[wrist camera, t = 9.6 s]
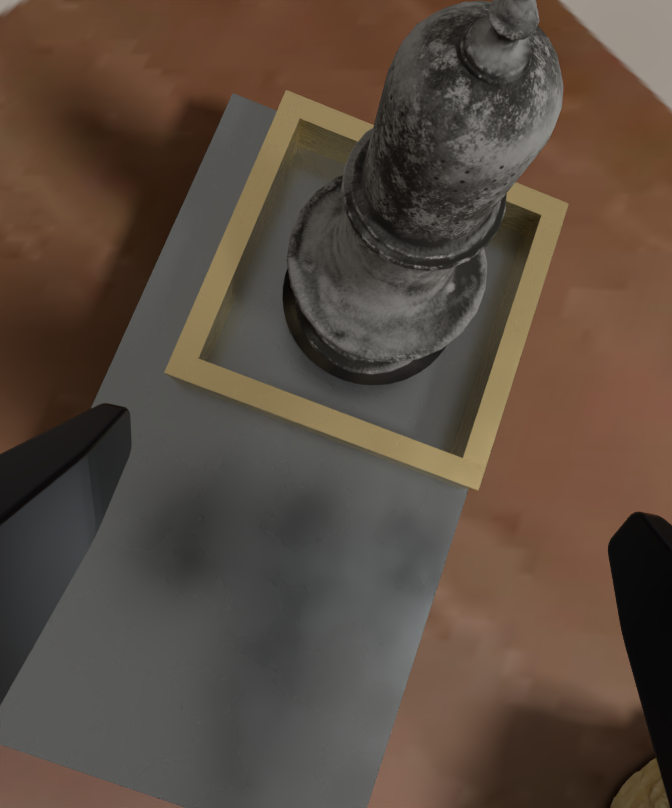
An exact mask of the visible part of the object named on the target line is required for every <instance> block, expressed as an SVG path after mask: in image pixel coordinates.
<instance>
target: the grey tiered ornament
mask: <svg viewBox="0 0 672 808" xmlns="http://www.w3.org/2000/svg"><path fill="white" fill-rule="evenodd" d="M536 5H537V4H536V0H493V1H492V2H487V1H472V2H462V3H459V4H456V5H453V6H450V7H446V8H444V9H442V10H440V11H438V12H436V13H434V14H432V15H431V16H429V17H428V18H426V19H425V20H423V21H421V22H420V23H418V24H417V25H416V26H415V27H414V29H413V30H412V31H411V32H410V33H409V34H408V36H407V37H406V38H405V39H404V40H403V42H402V44H401V46H400V47H399V49H398V51H397V52H396V55H395V57H394V59H393V61H392V64H391V66H390V68H389V70H388V73H387V77H386V81H385V85H384V89H383V92H382V96H381V100H380V104H379V108H378V112H377V115H376V119H375V123H374V127H373V128H371V129H370V130H368V131H367V132H366V133H365V134H364V135H363V136H362V137H361V138H360V140H359V141H358V142H357V143H356V144H355V146H354V147H353V148H352V150H351V153H350V155H349V157H348V159H347V162H346V164H345V166H344V172H343V175H342V176H339V177H336V178H335V179H334V180H332V181H331V182H329V183H328V184H326V185H325V186H323V187H322V188H320V189H319V190H318V191H316V192H315V194H314V195H313V196H312V197H311V198H310V200H309V201H308V202H307V203H306V204H305V206H304V207H303V208H302V209H301V210H300V212H299V215H298V217H297V219H296V222H295V224H294V226H293V228H292V231H291V233H290V239H289V246H288V254H287V266H288V273H289V280H290V287H291V289H292V291H293V294H294V296H295V306H296V313H297V319H298V322H299V324H300V326H301V329H302V331H303V333H304V336H305V338H306V339H307V340H308V341H309V343H310V344H311V345H312V346H313V348H314V349H315V350H316V351H317V353H319V354H320V355H321V356H323V357H324V358H325V359H327V360H328V361H329V362H331V363H332V364H333V365H336V366H338V367H341V368H343V369H345V370H348V371H350V372H356V373H363V374H378V373H386V372H391V371H393V370H396V369H398V368H401V367H403V366H405V365H408V364H409V363H410V362H411V361H413V360H416V359H419V358H422V357H424V356H427V355H429V354H431V353H434V352H436V351H439V350H441V349H443V348H444V347H445V346H446V345H448V344H449V343H450V342H451V341H453V340H454V339H455V338H456V337H458V336H459V335H460V334H461V333H463V331H464V330H465V328H466V327H467V326H468V324H469V323H470V321H471V320H472V319H473V317H474V316H475V314H476V313H477V311H478V308H479V305H480V303H481V300H482V297H483V294H484V292H485V288H486V274H487V260H486V255H485V250H484V249H485V248H486V246H487V245H488V244H489V242H490V241H491V240H492V238H493V237H494V236H495V234H496V233H497V232H498V230H499V227H500V225H501V222H502V219H503V217H504V214H505V210H506V198H507V192H508V191H509V190H510V188H511V187H512V186H513V185H514V183H515V182H516V181H517V180H518V178H519V177H520V176H521V175H522V173H523V172H524V171H525V170H526V168H527V167H528V166H529V165H530V164H531V162H532V161H533V160H534V159H535V157H536V156H537V155H538V153H539V152H540V151H541V149H542V148H543V147H544V146H545V144H546V143H547V142H548V140H549V138H550V136H551V134H552V131H553V129H554V127H555V124H556V121H557V119H558V116H559V113H560V111H561V108H562V97H563V83H562V76H561V71H560V66H559V61H558V56H557V54H556V52H555V50H554V48H553V46H552V44H551V42H550V40H549V38H548V37H547V36H546V35H545V33H544V32H543V31H542V30H541V29H540V27H539V26H538V23H539V16H538V10H537V7H536Z"/></svg>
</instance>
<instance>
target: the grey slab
mask: <svg viewBox="0 0 672 808" xmlns="http://www.w3.org/2000/svg"><path fill="white" fill-rule="evenodd" d="M373 127H374V125H372V124H369V123H367V122H364V121H362V120H359V119H357V118H354V117H352V116H349V115H347V114H345V113H342V112H340V111H337V110H335V109H332V108H330V107H327V106H325V105H322V104H320V103H317V102H315V101H312V100H310V99H307V98H305V97H302V96H300V95H297V94H295V93H292V92H290V91H287V90H286V92H285V94H284V96H283V98H282V101H281V103H280V105H279V108H278V110H277V111H276V110H274V109H271V108H269V107H266V106H264V105H261V104H259V103H256V102H254V101H251V100H249V99H246V98H244V97H241V96H239V95H236V94H234V93H233V94H232V96H231V98H230V101H229V103H228V105H227V107H226V109H225V112H224V114H223V116H222V118H221V121H220V123H219V125H218V127H217V129H216V132H215V134H214V136H213V138H212V141H211V143H210V145H209V147H208V149H207V152H206V154H205V156H204V158H203V161H202V163H201V165H200V167H199V169H198V172H197V174H196V176H195V178H194V181H193V183H192V185H191V187H190V189H189V192H188V194H187V196H186V198H185V200H184V203H183V205H182V207H181V209H180V212H179V214H178V216H177V218H176V220H175V223H174V225H173V227H172V229H171V232H170V234H169V236H168V238H167V240H166V243H165V245H164V247H163V249H162V252H161V254H160V256H159V258H158V260H157V263H156V265H155V267H154V269H153V272H152V274H151V276H150V278H149V280H148V283H147V285H146V287H145V289H144V292H143V294H142V296H141V298H140V300H139V303H138V305H137V307H136V309H135V311H134V314H133V316H132V318H131V320H130V323H129V325H128V327H127V329H126V331H125V334H124V336H123V338H122V340H121V343H120V345H119V347H118V349H117V351H116V354H115V356H114V358H113V360H112V363H111V365H110V367H109V369H108V371H107V374H106V376H105V378H104V380H103V383H102V385H101V387H100V389H99V391H98V394H97V396H96V398H95V400H94V402H93V405H92V407H91V408H93V407H95V406H97V405H100V404H102V403H109V404H114V405H119V406H124V407H126V408H128V409H129V412H130V417H131V438H132V446H131V452H130V456H129V458H128V461H127V463H126V466H125V468H124V470H123V473H122V475H121V478H120V480H119V482H118V485H117V487H116V490H115V492H114V494H113V497H112V499H111V502H110V504H109V506H108V509H107V511H106V514H105V516H104V518H103V521H102V523H101V525H100V528H99V530H98V532H97V534H96V536H95V538H94V540H93V542H92V544H91V546H90V547H89V549H88V551H87V553H86V555H85V556H84V558H83V560H82V562H81V563H80V565H79V567H78V569H77V571H76V572H75V574H74V576H73V578H72V579H71V581H70V583H69V585H68V586H67V588H66V590H65V592H64V594H63V595H62V597H61V599H60V601H59V602H58V604H57V606H56V608H55V609H54V611H53V613H52V615H51V617H50V618H49V620H48V622H47V624H46V625H45V627H44V629H43V631H42V633H41V634H40V636H39V638H38V640H37V641H36V643H35V645H34V647H33V648H32V650H31V652H30V654H29V656H28V657H27V659H26V661H25V663H24V664H23V666H22V668H21V670H20V672H19V673H18V675H17V677H16V679H15V680H14V682H13V684H12V686H11V687H10V689H9V691H8V693H7V695H6V696H5V698H4V700H3V702H2V703H1V705H0V745H3V746H6V747H9V748H12V749H15V750H18V751H21V752H24V753H26V754H29V755H32V756H35V757H38V758H41V759H44V760H47V761H50V762H53V763H56V764H59V765H62V766H65V767H68V768H71V769H74V770H76V771H79V772H82V773H85V774H88V775H91V776H94V777H97V778H100V779H103V780H106V781H109V782H112V783H115V784H118V785H121V786H124V787H127V788H129V789H132V790H135V791H138V792H141V793H144V794H147V795H150V796H153V797H156V798H159V799H162V800H165V801H168V802H171V803H174V804H177V805H179V806H182V807H185V808H367V806H368V803H369V800H370V797H371V793H372V790H373V787H374V784H375V781H376V778H377V775H378V771H379V768H380V765H381V762H382V759H383V756H384V753H385V749H386V746H387V743H388V740H389V737H390V734H391V731H392V727H393V724H394V721H395V718H396V715H397V712H398V709H399V705H400V702H401V699H402V696H403V693H404V690H405V687H406V683H407V680H408V677H409V674H410V671H411V668H412V665H413V661H414V658H415V655H416V652H417V649H418V646H419V643H420V639H421V636H422V633H423V630H424V627H425V624H426V621H427V618H428V614H429V611H430V608H431V605H432V602H433V599H434V596H435V592H436V589H437V586H438V583H439V580H440V577H441V574H442V570H443V567H444V564H445V561H446V558H447V555H448V552H449V548H450V545H451V542H452V539H453V536H454V533H455V530H456V526H457V523H458V520H459V517H460V514H461V511H462V508H463V504H464V501H465V498H466V495H467V492H468V490H479V487H480V484H481V481H482V477H483V474H484V471H485V468H486V465H487V462H488V458H489V455H490V452H491V449H492V446H493V443H494V439H495V436H496V433H497V430H498V427H499V423H500V420H501V417H502V414H503V411H504V408H505V404H506V401H507V398H508V395H509V392H510V389H511V385H512V382H513V379H514V376H515V373H516V370H517V366H518V363H519V360H520V357H521V354H522V350H523V347H524V344H525V341H526V338H527V335H528V331H529V328H530V325H531V322H532V319H533V316H534V312H535V309H536V306H537V303H538V300H539V297H540V293H541V290H542V287H543V284H544V281H545V277H546V274H547V271H548V268H549V265H550V262H551V258H552V255H553V252H554V249H555V246H556V243H557V239H558V236H559V233H560V230H561V227H562V224H563V220H564V217H565V214H566V211H567V208H568V203H566V202H563V201H561V200H558V199H556V198H553V197H551V196H548V195H546V194H543V193H541V192H538V191H536V190H533V189H531V188H529V187H526V186H524V185H521V184H519V183H516V182H515V183H514V185H513V186H512V187H511V188H510V190H509V191H508V192H507V198H506V210H505V214H504V217H503V219H502V222H501V225H500V227H499V230H498V232H497V233H496V234H495V236H494V237H493V238H492V240H491V241H490V242H489V244H488V245H487V246H486V248H485V249H484V250H485V255H486V260H487V274H486V288H485V292H484V294H483V297H482V300H481V303H480V305H479V308H478V311H477V313H476V314H475V316H474V317H473V319H472V320H471V321H470V323H469V324H468V326H467V327H466V328H465V330H464V331H463V333H461V334H460V335H459V336H458V337H456V338H455V339H454V340H453V341H451V342H450V343H449V344H448V345H446V346H445V347H444V348H443V349H441V350H439V351H436V352H434V353H431V354H429V355H427V356H424V357H422V358H419V359H416V360H413V361H411V362H410V363H409V364H408V365H405V366H403V367H401V368H398V369H396V370H393V371H391V372H386V373H378V374H363V373H356V372H350V371H348V370H345V369H343V368H341V367H338V366H336V365H333V364H332V363H331V362H329V361H328V360H327V359H325V358H324V357H323V356H321V355H320V354H319V353H317V351H316V350H315V349H314V348H313V346H312V345H311V344H310V343H309V341H308V340H307V339H306V338H305V336H304V333H303V331H302V329H301V326H300V324H299V322H298V319H297V313H296V306H295V296H294V294H293V291H292V289H291V287H290V280H289V273H288V266H287V254H288V246H289V239H290V233H291V231H292V228H293V226H294V224H295V222H296V219H297V217H298V215H299V212H300V210H301V209H302V208H303V207H304V206H305V204H306V203H307V202H308V201H309V200H310V198H311V197H312V196H313V195H314V194H315V192H316V191H318V190H319V189H320V188H322V187H323V186H325V185H326V184H328V183H329V182H331V181H332V180H334V179H335V178H336V177H339V176H342V175H343V172H344V166H345V164H346V162H347V159H348V157H349V155H350V153H351V150H352V148H353V147H354V146H355V144H356V143H357V142H358V141H359V140H360V138H361V137H362V136H363V135H364V134H365V133H366V132H367V131H368V130H370V129H371V128H373Z"/></svg>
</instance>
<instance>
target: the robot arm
mask: <svg viewBox="0 0 672 808" xmlns="http://www.w3.org/2000/svg"><path fill="white" fill-rule="evenodd" d="M131 446H132V438H131V417H130V412H129V409H128V408H126V407H124V406H119V405H114V404H109V403H102V404H100V405H97V406H95V407H93V408H91V409H89V410H87V411H85V412H83V413H81V414H79V415H77V416H75V417H73V418H72V419H70V420H68V421H66V422H64V423H62V424H60V425H58V426H56V427H54V428H52V429H50V430H48V431H46V432H44V433H42V434H40V435H38V436H36V437H34V438H32V439H30V440H28V441H26V442H24V443H22V444H20V445H18V446H16V447H14V448H12V449H10V450H8V451H6V452H4V453H2V454H0V705H1V703H2V702H3V700H4V698H5V696H6V695H7V693H8V691H9V689H10V687H11V686H12V684H13V682H14V680H15V679H16V677H17V675H18V673H19V672H20V670H21V668H22V666H23V664H24V663H25V661H26V659H27V657H28V656H29V654H30V652H31V650H32V648H33V647H34V645H35V643H36V641H37V640H38V638H39V636H40V634H41V633H42V631H43V629H44V627H45V625H46V624H47V622H48V620H49V618H50V617H51V615H52V613H53V611H54V609H55V608H56V606H57V604H58V602H59V601H60V599H61V597H62V595H63V594H64V592H65V590H66V588H67V586H68V585H69V583H70V581H71V579H72V578H73V576H74V574H75V572H76V571H77V569H78V567H79V565H80V563H81V562H82V560H83V558H84V556H85V555H86V553H87V551H88V549H89V547H90V546H91V544H92V542H93V540H94V538H95V536H96V534H97V532H98V530H99V528H100V525H101V523H102V521H103V518H104V516H105V514H106V511H107V509H108V506H109V504H110V502H111V499H112V497H113V494H114V492H115V490H116V487H117V485H118V482H119V480H120V478H121V475H122V473H123V470H124V468H125V466H126V463H127V461H128V458H129V456H130V452H131ZM608 555H609V561H610V567H611V573H612V579H613V585H614V591H615V597H616V603H617V609H618V615H619V620H620V625H621V631H622V635H623V639H624V643H625V647H626V651H627V654H628V658H629V662H630V665H631V669H632V672H633V676H634V680H635V683H636V687H637V691H638V694H639V698H640V701H641V705H642V709H643V712H644V716H645V720H646V723H647V727H648V730H649V734H650V738H651V741H652V745H653V749H654V752H655V756H656V759H657V763H658V767H659V770H660V774H661V778H662V781H663V785H664V789H665V792H666V796H667V799H668V803H669V807H670V808H672V525H671V524H669V523H668V522H667V521H666V520H665V519H663V518H662V517H660V516H658V515H654V514H649V513H644V512H635V513H633V514H631V515H630V516H629V517H628V519H627V520H626V521H625V522H624V523H623V525H622V526H621V527H620V528H619V529H618V531H617V532H616V533H615V534H614V535H613V537H612V538H611V539H610V542H609V545H608Z"/></svg>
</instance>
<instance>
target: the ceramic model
mask: <svg viewBox="0 0 672 808" xmlns="http://www.w3.org/2000/svg"><path fill="white" fill-rule="evenodd" d="M610 808H670V807H669V803H668V799H667V796H666V792H665V789H664V785H663V781H662V778H661V774H660V770H659V767H658V763H657V759H656V758H655V759H653V760H651V761H650V762H649V763H648V764H647V765H646V766H645V767H643V768H642V769H641V770H640V771H639V772H638V771H637V772H636V773H634V774H633V775H632V776H631V777H630V778H629V779H628V780H627V781H626V782H625V784H624V785H623V786H622V787H621V789H620V791H619V792H618V794H617V796H616V797H614V799H613V802H612V804H611V807H610Z"/></svg>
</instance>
